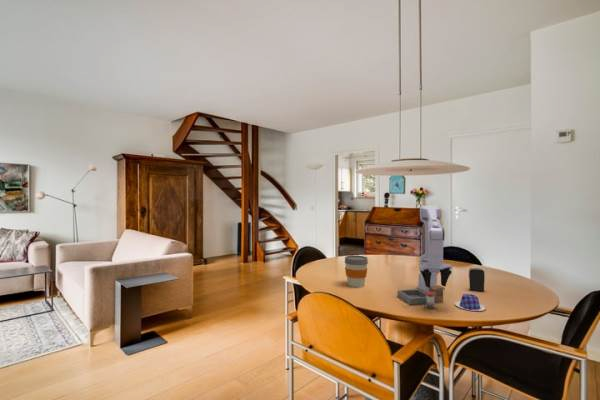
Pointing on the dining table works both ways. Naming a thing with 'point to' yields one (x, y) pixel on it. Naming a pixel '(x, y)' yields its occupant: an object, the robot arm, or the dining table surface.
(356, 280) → the reusable coffee cup
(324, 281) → the dining table surface
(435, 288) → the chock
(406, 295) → the tray
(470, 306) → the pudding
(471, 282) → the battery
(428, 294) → the small red-capped bottle
